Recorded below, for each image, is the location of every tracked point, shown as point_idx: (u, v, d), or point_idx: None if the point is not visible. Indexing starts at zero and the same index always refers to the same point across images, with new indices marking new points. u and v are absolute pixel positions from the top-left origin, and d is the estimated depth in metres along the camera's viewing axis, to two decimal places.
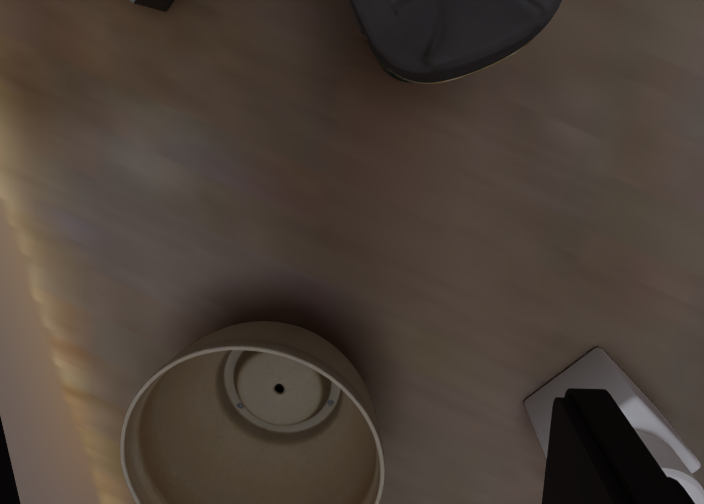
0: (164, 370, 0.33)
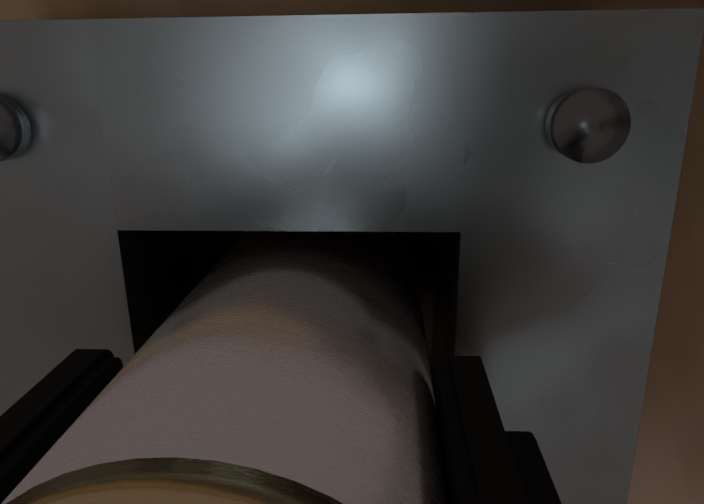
0: None
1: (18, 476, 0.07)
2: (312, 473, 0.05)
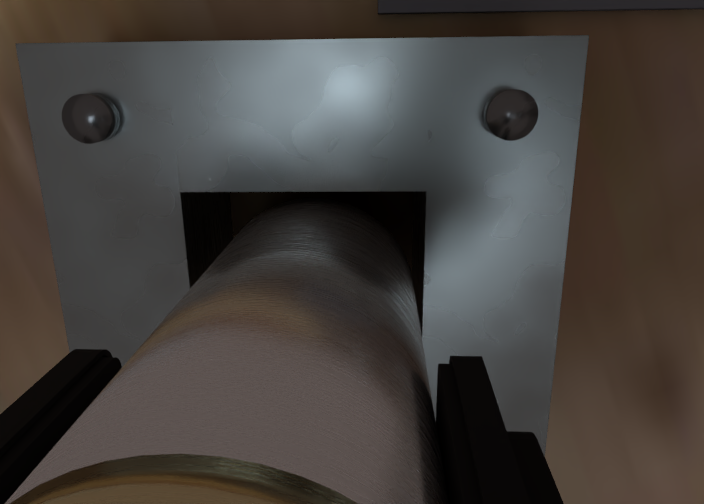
0: None
1: (17, 477, 0.07)
2: (316, 469, 0.05)
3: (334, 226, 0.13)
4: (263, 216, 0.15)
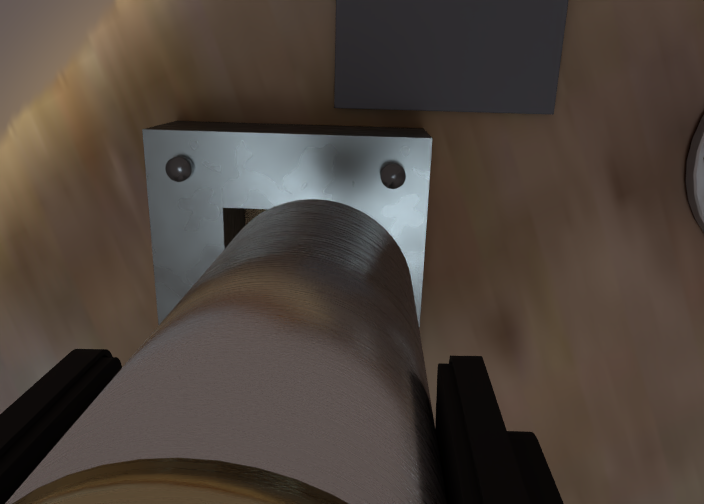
0: None
1: (17, 476, 0.07)
2: (312, 473, 0.05)
3: (333, 227, 0.13)
4: (262, 217, 0.15)
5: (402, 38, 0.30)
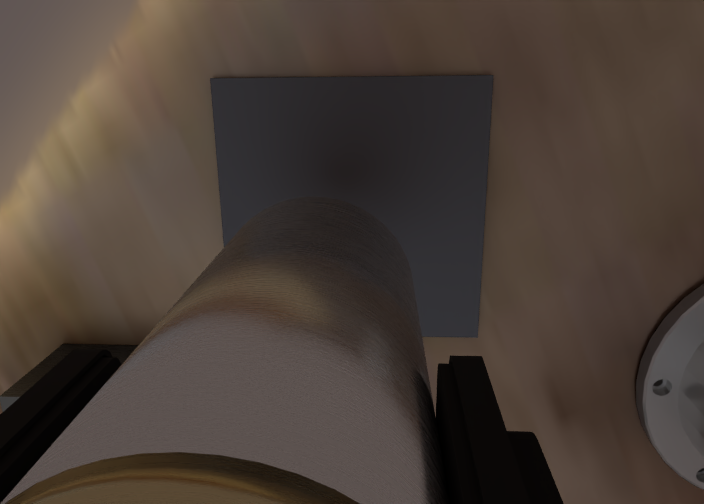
0: None
1: (17, 477, 0.07)
2: (315, 468, 0.05)
3: (334, 224, 0.13)
4: (263, 215, 0.15)
5: None
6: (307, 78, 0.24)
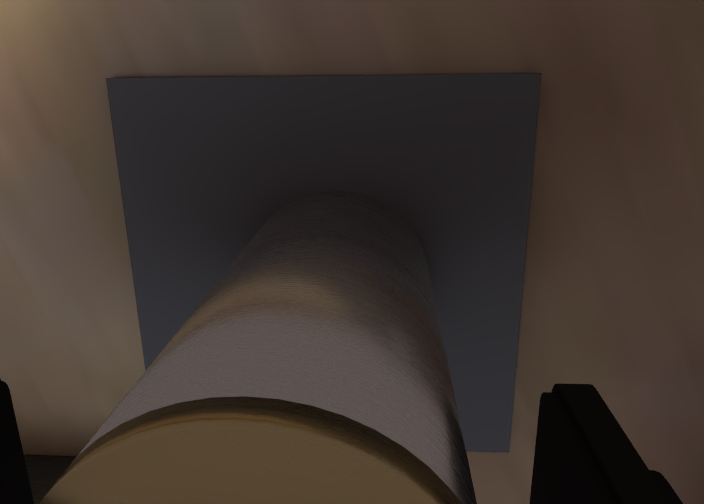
0: None
1: None
2: (356, 412, 0.06)
3: (357, 216, 0.14)
4: (289, 207, 0.16)
5: None
6: (254, 78, 0.16)
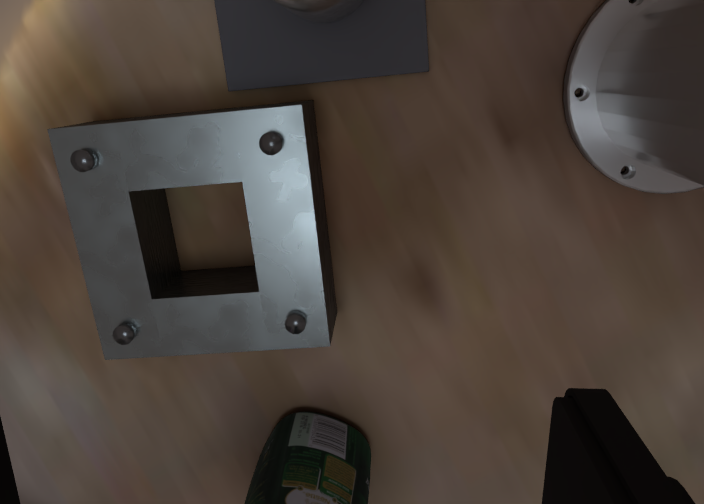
0: None
1: None
2: None
3: None
4: None
5: (278, 19, 0.33)
6: None
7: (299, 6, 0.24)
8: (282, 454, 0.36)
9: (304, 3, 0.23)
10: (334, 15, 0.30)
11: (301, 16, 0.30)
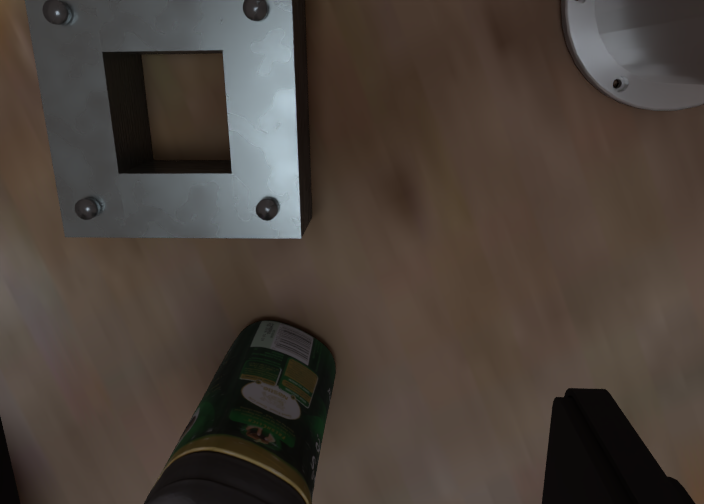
0: None
1: None
2: None
3: None
4: None
5: None
6: None
7: None
8: (243, 353, 0.35)
9: None
10: None
11: None
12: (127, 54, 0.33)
